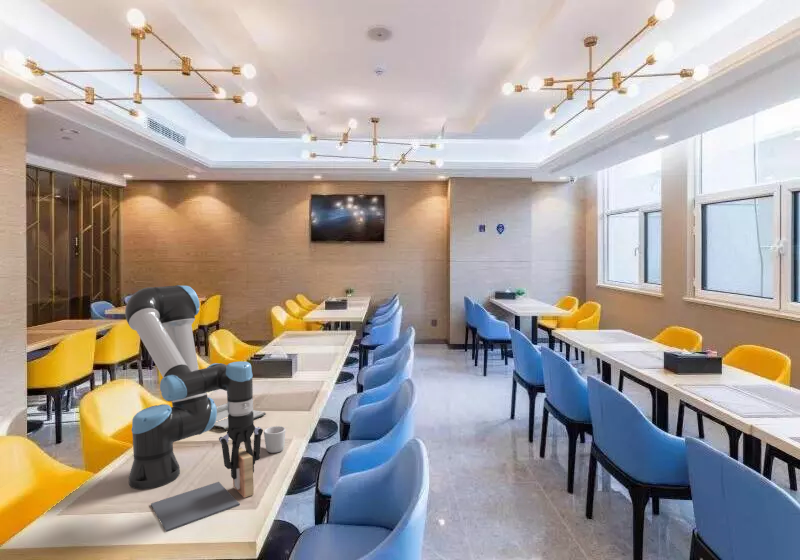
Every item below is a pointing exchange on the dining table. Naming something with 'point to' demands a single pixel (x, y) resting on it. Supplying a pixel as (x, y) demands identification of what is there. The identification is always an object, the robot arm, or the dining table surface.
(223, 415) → the mat
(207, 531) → the dining table surface
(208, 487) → the slate mat
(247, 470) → the tan block
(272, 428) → the cup
